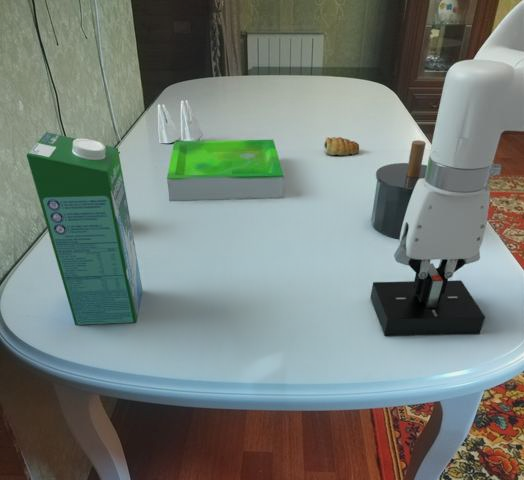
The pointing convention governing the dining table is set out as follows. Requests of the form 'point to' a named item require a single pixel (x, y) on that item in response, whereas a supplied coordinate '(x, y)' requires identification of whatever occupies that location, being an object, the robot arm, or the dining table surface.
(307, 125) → the dining table surface
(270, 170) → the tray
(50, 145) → the milk carton
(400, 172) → the lid
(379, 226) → the pot
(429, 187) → the robot arm
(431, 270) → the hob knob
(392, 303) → the panel
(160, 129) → the shaker set
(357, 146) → the pastry
